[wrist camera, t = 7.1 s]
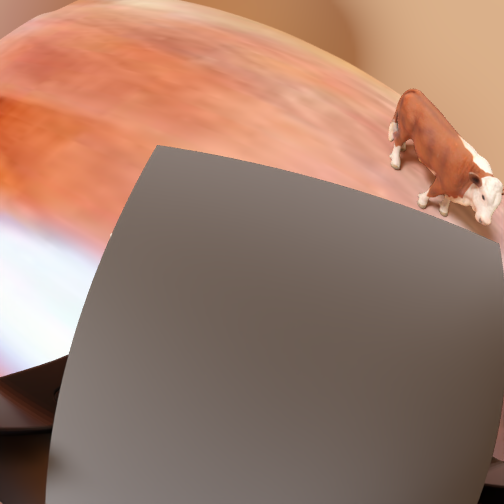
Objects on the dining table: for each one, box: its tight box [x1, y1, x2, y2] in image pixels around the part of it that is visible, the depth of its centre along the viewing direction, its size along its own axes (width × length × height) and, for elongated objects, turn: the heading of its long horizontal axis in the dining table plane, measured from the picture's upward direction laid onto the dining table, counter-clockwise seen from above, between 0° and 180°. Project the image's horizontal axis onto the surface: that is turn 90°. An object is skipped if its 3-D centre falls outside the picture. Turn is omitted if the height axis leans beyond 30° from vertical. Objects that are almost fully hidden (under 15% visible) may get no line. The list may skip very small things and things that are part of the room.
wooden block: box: [45, 145, 504, 504], centre depth 9 cm, size 5×5×14 cm
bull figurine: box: [388, 89, 504, 226], centre depth 20 cm, size 4×13×8 cm, turn 15°
